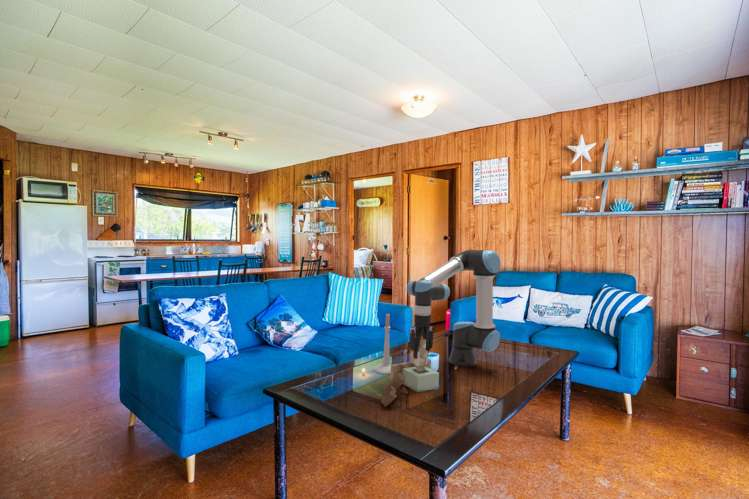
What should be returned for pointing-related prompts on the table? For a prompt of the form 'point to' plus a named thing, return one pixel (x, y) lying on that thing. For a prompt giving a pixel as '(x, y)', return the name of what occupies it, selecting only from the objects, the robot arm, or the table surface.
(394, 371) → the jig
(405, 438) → the table surface
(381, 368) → the candlestick
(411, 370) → the sliding block
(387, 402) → the wooden block set
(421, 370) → the dowel
